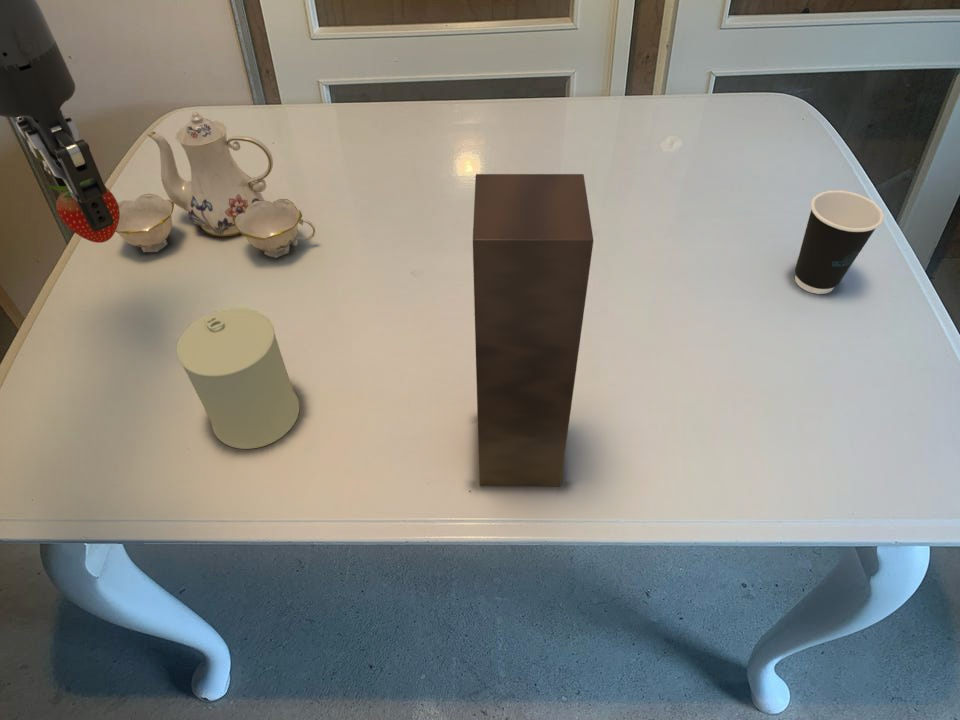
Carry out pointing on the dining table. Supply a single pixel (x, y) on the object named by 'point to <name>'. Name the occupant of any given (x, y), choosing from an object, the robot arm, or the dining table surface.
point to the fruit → (76, 219)
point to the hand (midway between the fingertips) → (91, 214)
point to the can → (239, 377)
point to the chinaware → (211, 195)
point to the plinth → (528, 320)
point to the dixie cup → (834, 238)
